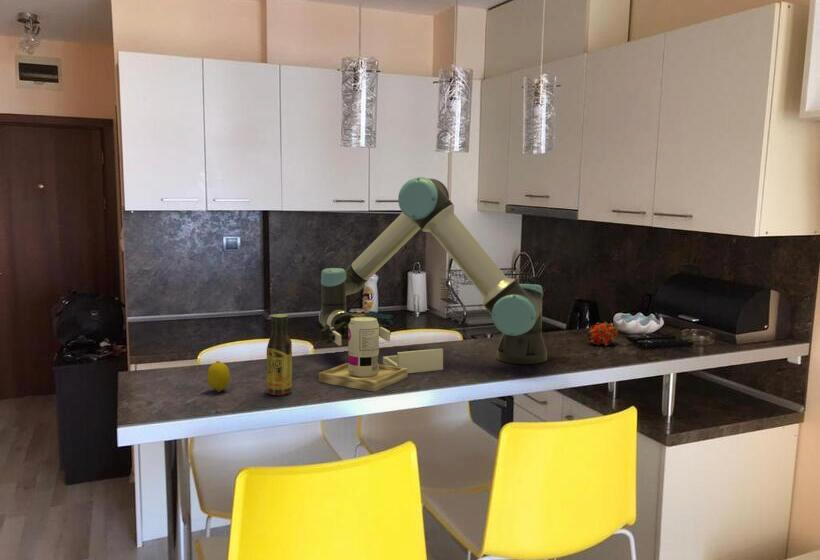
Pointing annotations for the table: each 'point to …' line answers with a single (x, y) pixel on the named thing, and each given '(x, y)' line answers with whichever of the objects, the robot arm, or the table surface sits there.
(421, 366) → the dock
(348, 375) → the tray
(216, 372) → the lemon
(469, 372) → the table surface
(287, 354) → the sauce bottle
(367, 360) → the supplement can
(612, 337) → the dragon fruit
